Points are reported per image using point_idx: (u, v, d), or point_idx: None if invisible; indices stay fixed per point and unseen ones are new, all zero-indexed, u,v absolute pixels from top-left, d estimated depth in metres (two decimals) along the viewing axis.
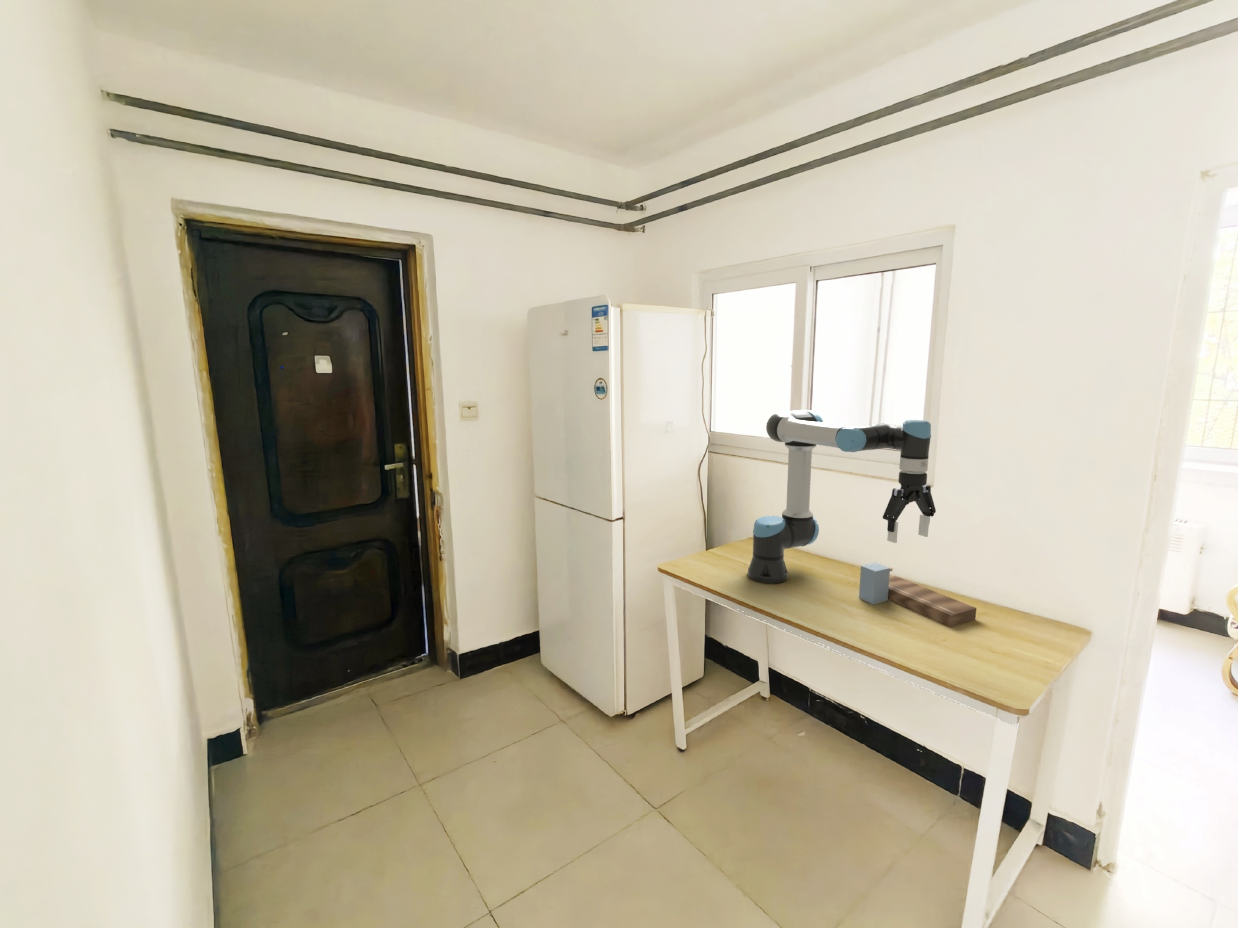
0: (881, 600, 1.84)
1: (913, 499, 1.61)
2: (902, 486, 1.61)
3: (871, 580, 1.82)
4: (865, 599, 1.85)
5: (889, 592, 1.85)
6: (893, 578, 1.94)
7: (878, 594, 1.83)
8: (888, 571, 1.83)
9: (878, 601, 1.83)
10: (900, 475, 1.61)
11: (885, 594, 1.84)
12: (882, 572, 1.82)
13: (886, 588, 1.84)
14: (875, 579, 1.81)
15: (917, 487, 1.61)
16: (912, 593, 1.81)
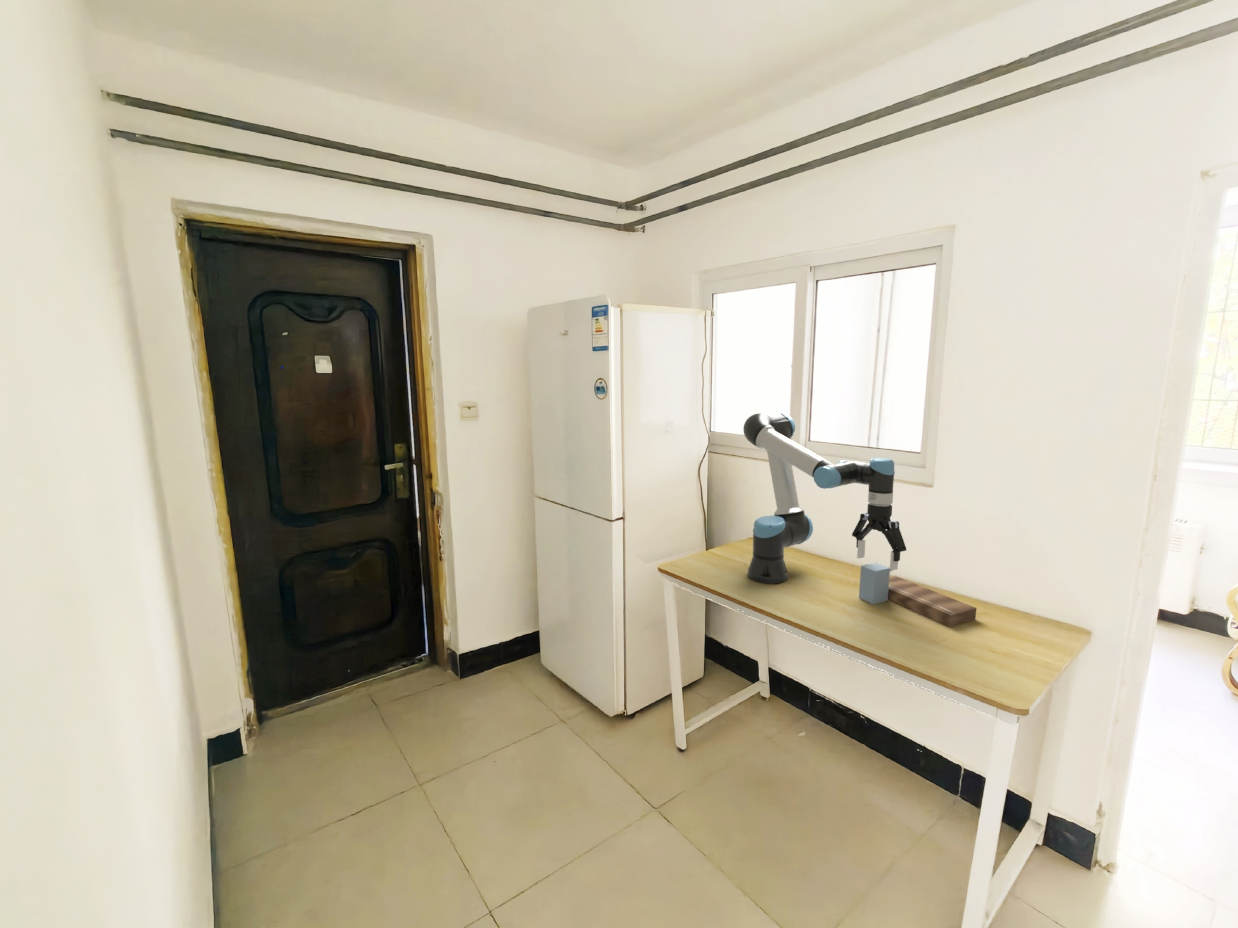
0: (881, 600, 1.84)
1: (875, 528, 1.82)
2: None
3: (871, 580, 1.82)
4: (865, 599, 1.85)
5: (889, 592, 1.85)
6: (893, 578, 1.94)
7: (878, 594, 1.83)
8: (888, 571, 1.83)
9: (878, 601, 1.83)
10: None
11: (885, 594, 1.84)
12: (882, 572, 1.82)
13: (886, 588, 1.84)
14: (875, 579, 1.81)
15: (879, 518, 1.80)
16: (912, 593, 1.81)
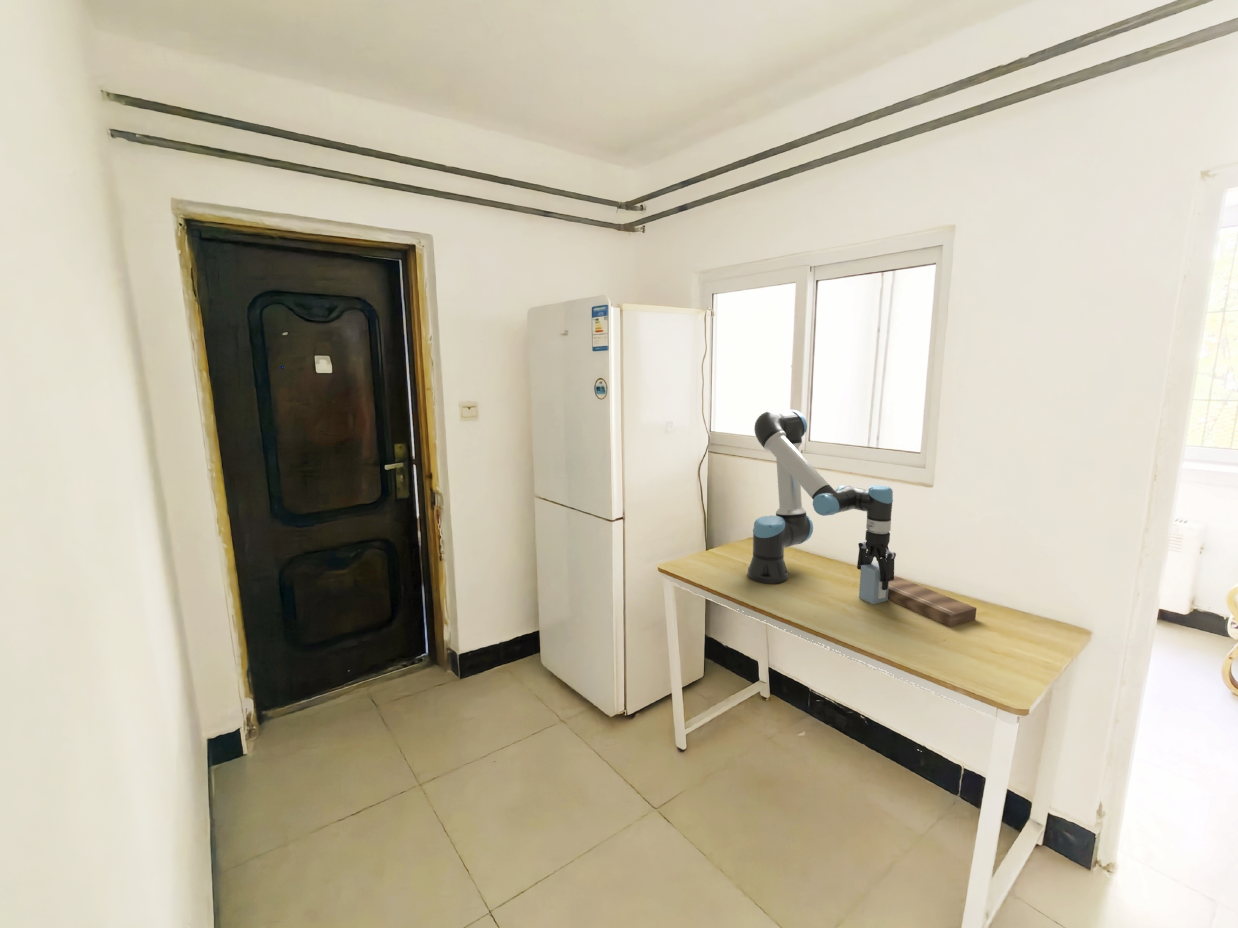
0: (881, 600, 1.84)
1: (873, 554, 1.84)
2: None
3: (871, 580, 1.82)
4: (865, 599, 1.85)
5: (889, 592, 1.85)
6: None
7: None
8: None
9: (878, 601, 1.83)
10: None
11: None
12: None
13: None
14: (875, 579, 1.81)
15: (877, 545, 1.82)
16: (912, 593, 1.81)
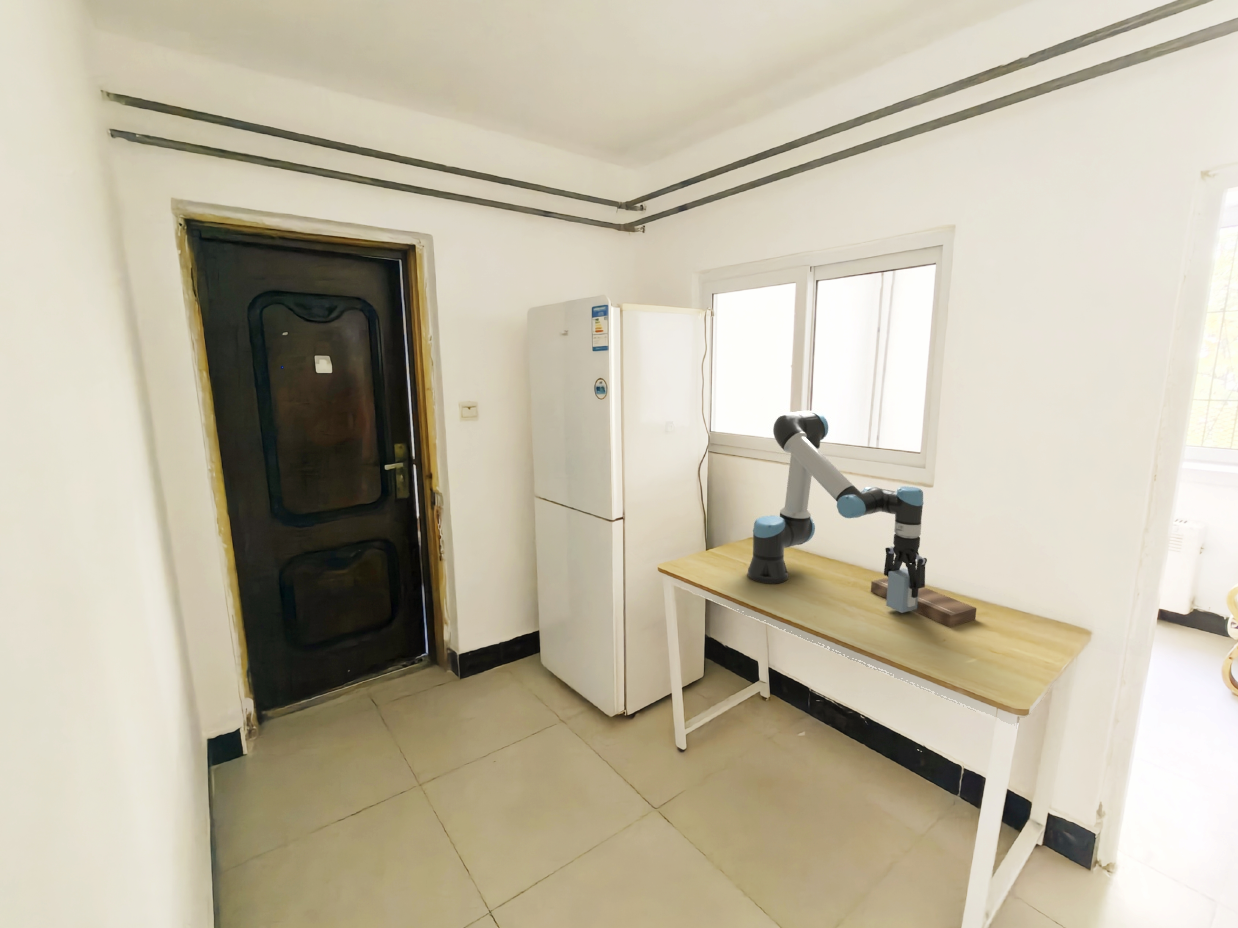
0: (910, 608, 1.73)
1: (901, 559, 1.73)
2: None
3: (900, 587, 1.72)
4: (893, 607, 1.75)
5: None
6: None
7: None
8: None
9: (907, 609, 1.73)
10: None
11: (915, 602, 1.74)
12: None
13: None
14: (904, 586, 1.71)
15: (906, 550, 1.71)
16: None
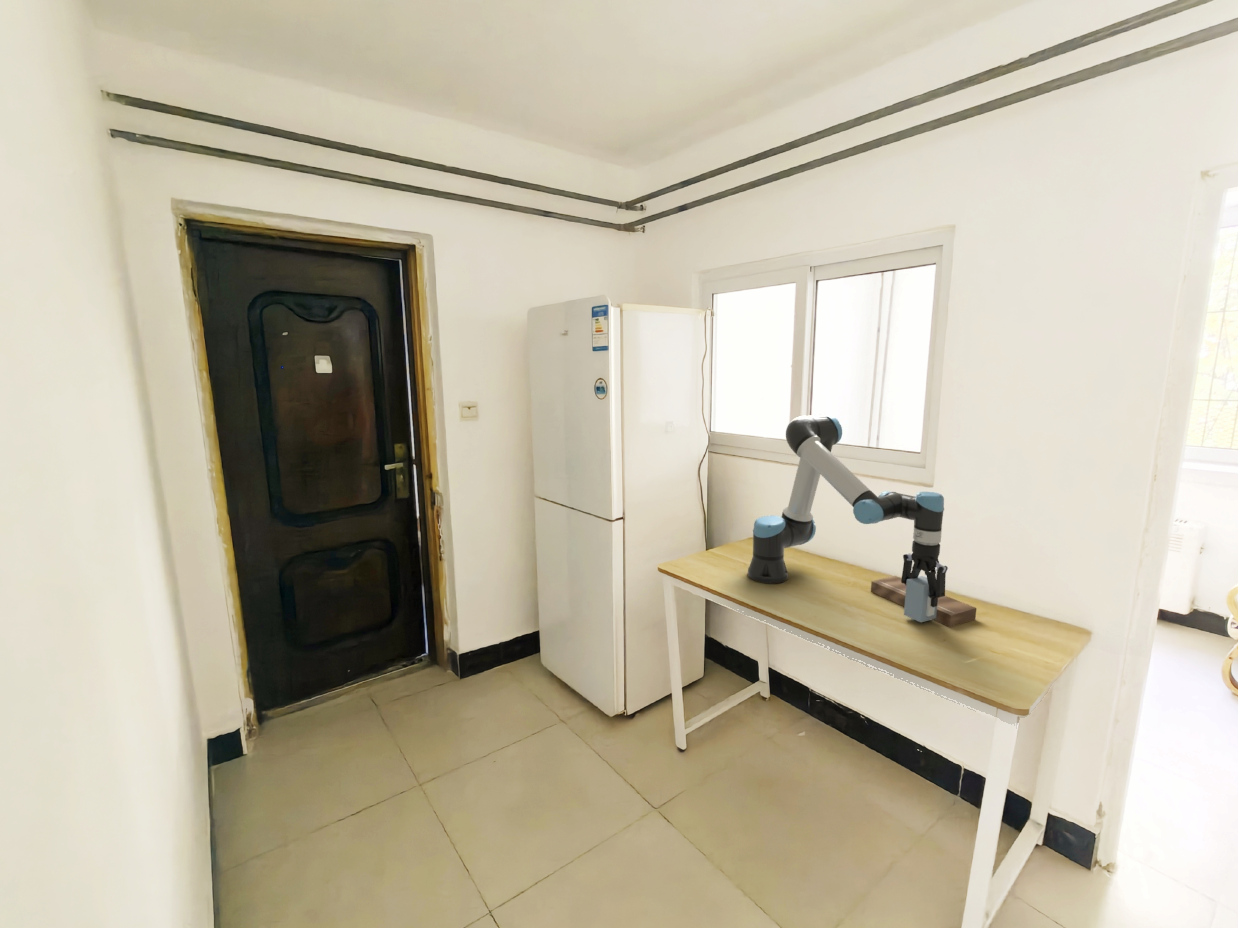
0: (929, 618, 1.67)
1: (920, 567, 1.67)
2: None
3: (919, 596, 1.65)
4: (911, 616, 1.69)
5: (889, 592, 1.85)
6: (893, 578, 1.94)
7: None
8: None
9: (926, 619, 1.67)
10: None
11: (934, 611, 1.68)
12: None
13: None
14: (923, 595, 1.65)
15: (925, 557, 1.65)
16: None
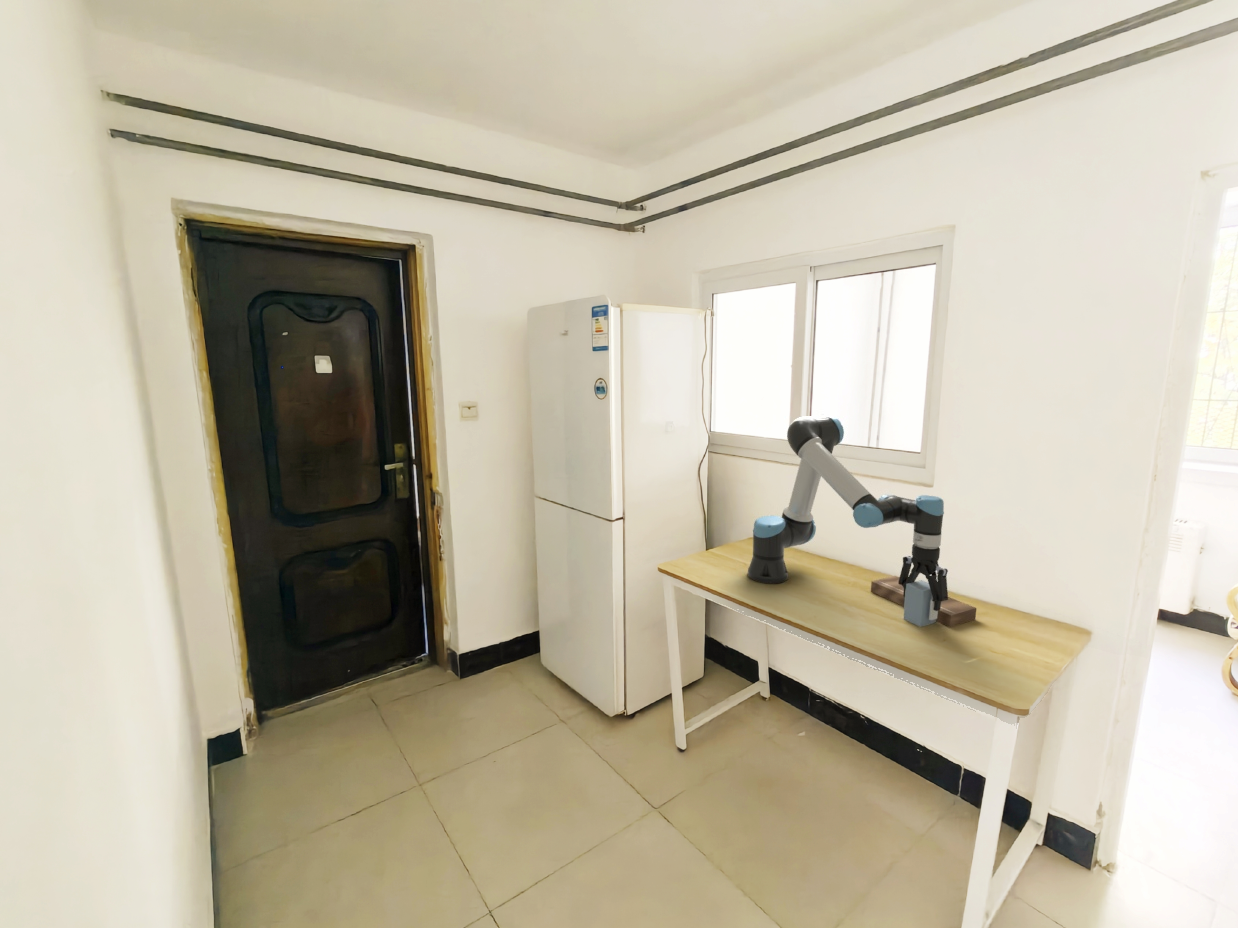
0: (929, 622, 1.68)
1: (920, 571, 1.67)
2: None
3: (919, 600, 1.66)
4: (911, 621, 1.69)
5: (889, 592, 1.85)
6: (893, 578, 1.94)
7: (926, 615, 1.67)
8: None
9: (926, 623, 1.67)
10: None
11: None
12: (930, 592, 1.66)
13: None
14: (923, 600, 1.65)
15: (925, 561, 1.65)
16: None
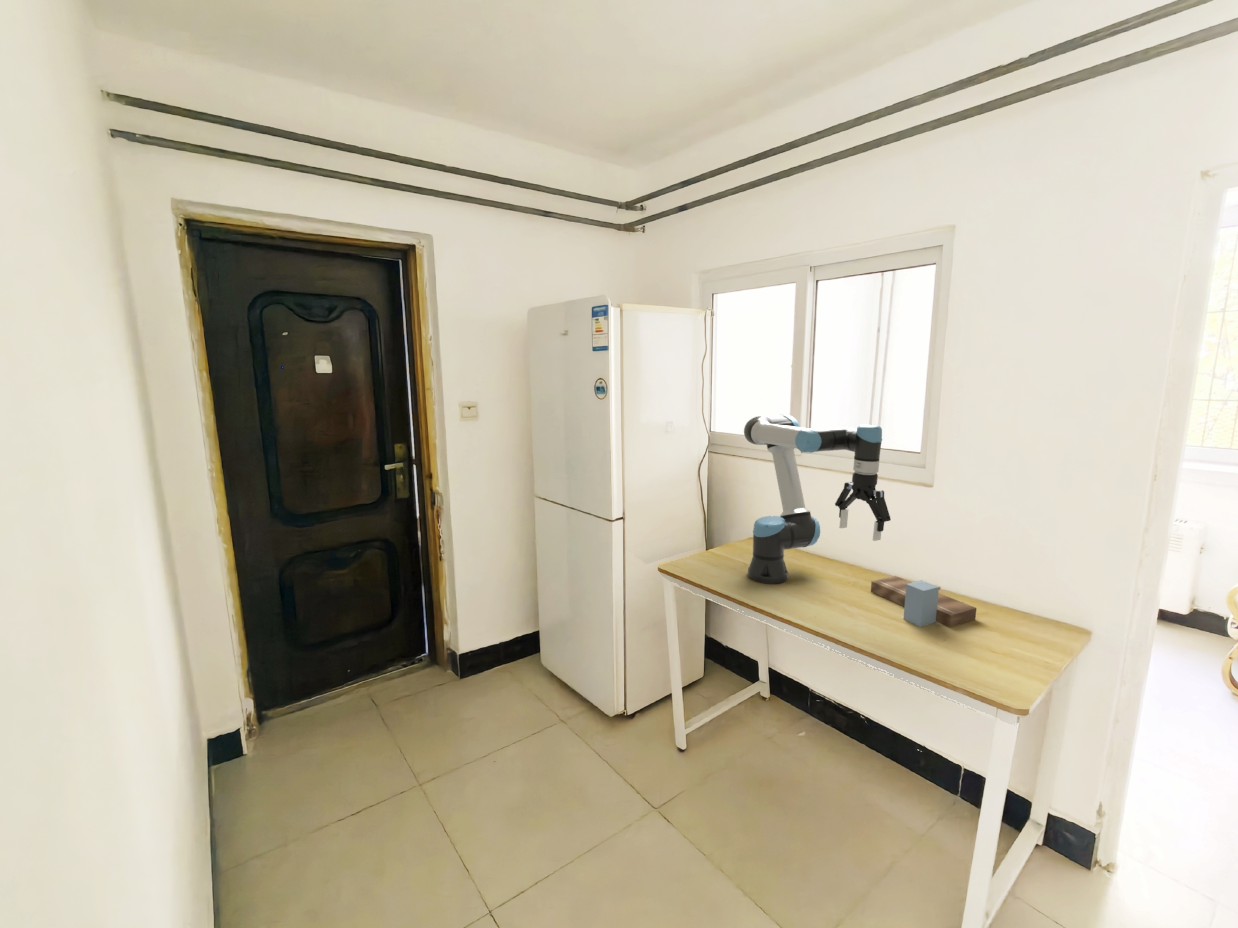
0: (929, 622, 1.68)
1: (859, 497, 1.76)
2: None
3: (919, 600, 1.66)
4: (911, 621, 1.69)
5: (889, 592, 1.85)
6: (893, 578, 1.94)
7: (926, 615, 1.67)
8: (937, 590, 1.67)
9: (926, 623, 1.67)
10: None
11: (933, 616, 1.68)
12: (930, 592, 1.66)
13: (934, 609, 1.68)
14: (923, 600, 1.65)
15: (864, 487, 1.74)
16: None
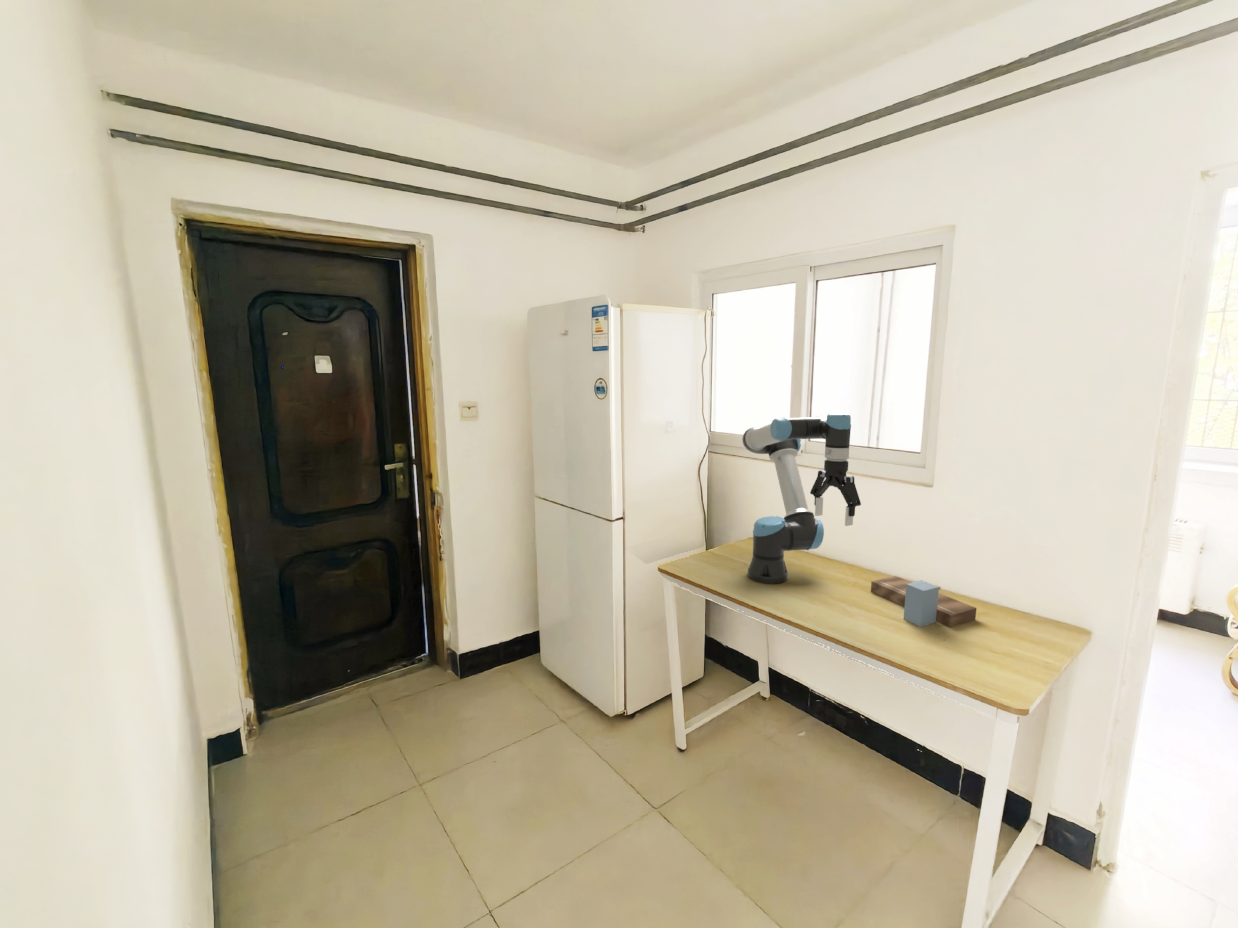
0: (929, 622, 1.68)
1: (832, 484, 1.80)
2: None
3: (919, 600, 1.66)
4: (911, 621, 1.69)
5: (889, 592, 1.85)
6: (893, 578, 1.94)
7: (926, 615, 1.67)
8: (937, 590, 1.67)
9: (926, 623, 1.67)
10: None
11: (933, 616, 1.68)
12: (930, 592, 1.66)
13: (934, 609, 1.68)
14: (923, 599, 1.65)
15: (835, 474, 1.78)
16: None
